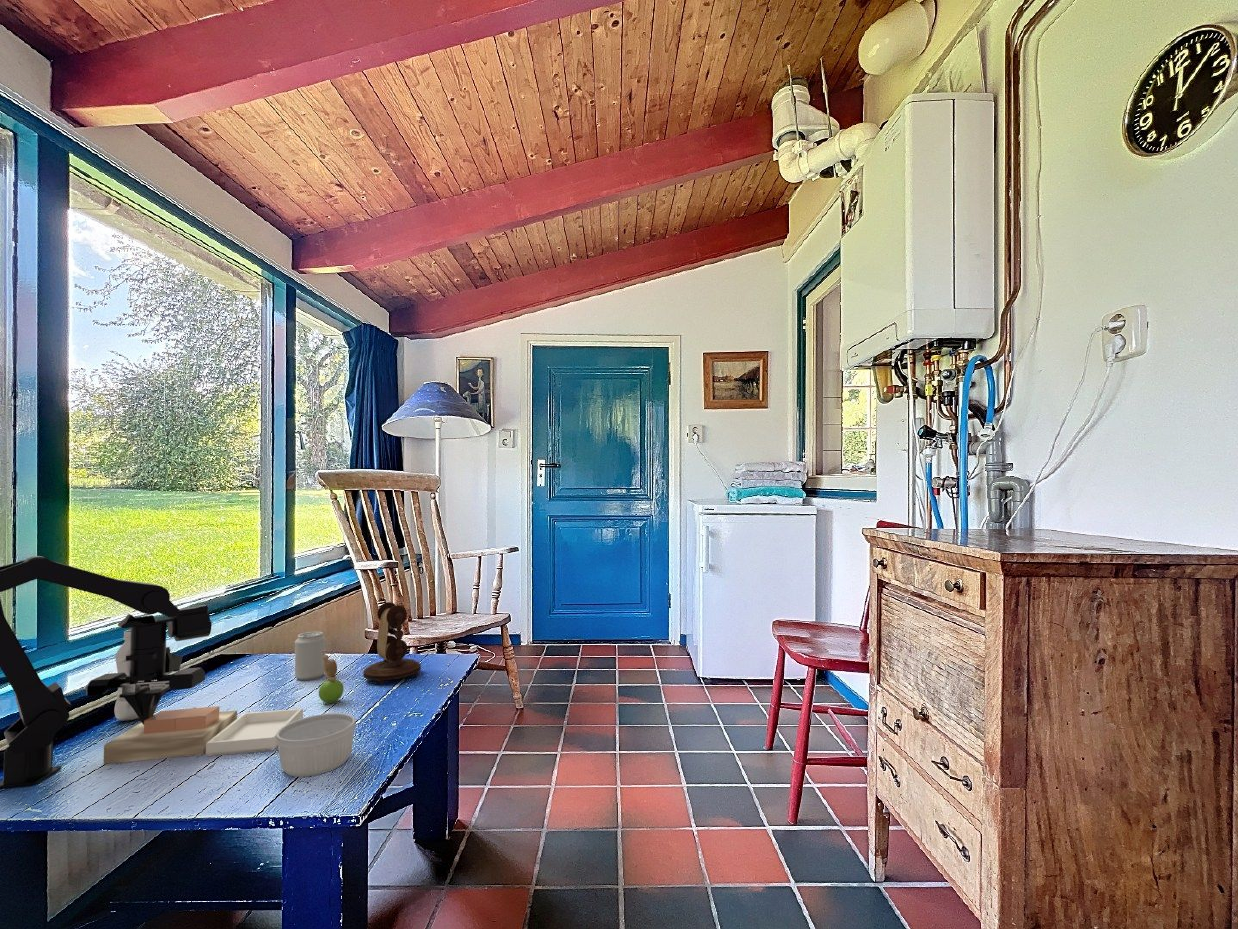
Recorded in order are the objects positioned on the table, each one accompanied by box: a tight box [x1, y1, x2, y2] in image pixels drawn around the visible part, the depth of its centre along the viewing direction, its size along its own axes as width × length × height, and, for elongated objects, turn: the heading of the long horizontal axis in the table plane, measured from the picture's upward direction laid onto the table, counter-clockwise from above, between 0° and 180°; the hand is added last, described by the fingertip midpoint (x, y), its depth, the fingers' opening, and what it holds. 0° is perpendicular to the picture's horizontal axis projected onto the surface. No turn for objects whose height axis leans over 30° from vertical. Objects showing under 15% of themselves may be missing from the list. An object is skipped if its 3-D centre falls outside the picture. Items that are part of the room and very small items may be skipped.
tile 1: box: [144, 708, 190, 734], centre depth 119 cm, size 6×6×2 cm
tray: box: [205, 707, 304, 757], centre depth 122 cm, size 16×12×2 cm
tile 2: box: [175, 705, 220, 731], centre depth 120 cm, size 6×6×2 cm
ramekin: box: [276, 712, 356, 778], centre depth 109 cm, size 13×13×7 cm
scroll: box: [362, 601, 422, 686], centre depth 161 cm, size 15×15×20 cm
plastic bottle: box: [113, 629, 144, 722], centre depth 134 cm, size 6×7×20 cm
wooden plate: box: [103, 710, 238, 765], centre depth 119 cm, size 14×17×4 cm
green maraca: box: [318, 649, 345, 704], centre depth 142 cm, size 5×6×12 cm
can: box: [294, 631, 326, 681], centre depth 163 cm, size 8×8×12 cm
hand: (146, 724), depth 118 cm, fingers closed
